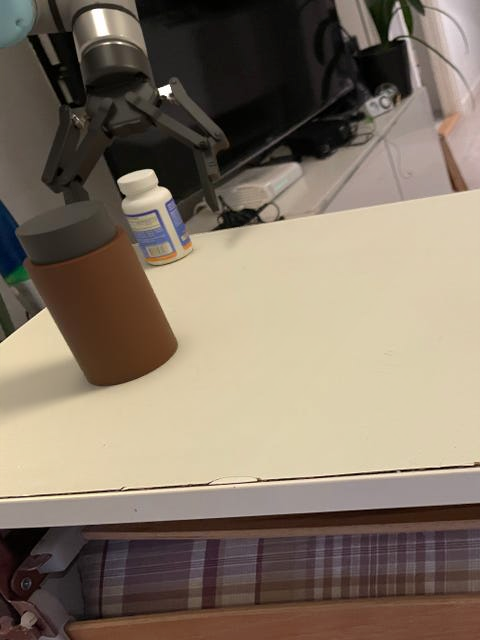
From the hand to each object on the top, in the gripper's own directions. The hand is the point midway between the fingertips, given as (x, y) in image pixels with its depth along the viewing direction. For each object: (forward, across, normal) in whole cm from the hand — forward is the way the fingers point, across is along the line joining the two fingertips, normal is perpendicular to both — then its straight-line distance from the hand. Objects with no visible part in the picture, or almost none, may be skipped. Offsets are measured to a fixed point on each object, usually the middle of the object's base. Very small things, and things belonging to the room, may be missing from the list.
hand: (151, 223), depth 85 cm
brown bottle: (+20, +1, +13) cm, 23 cm away
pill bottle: (+2, 0, -5) cm, 5 cm away
